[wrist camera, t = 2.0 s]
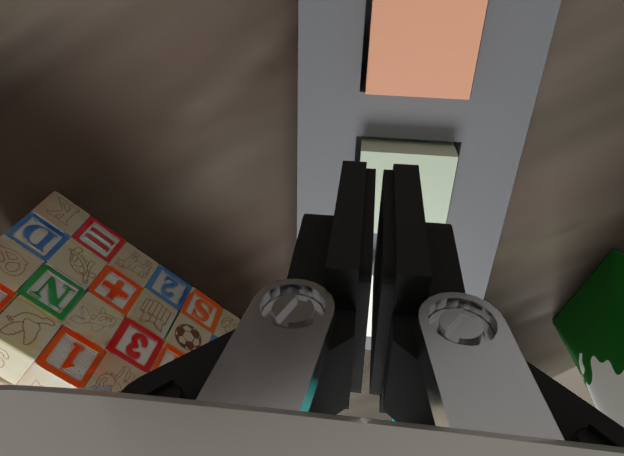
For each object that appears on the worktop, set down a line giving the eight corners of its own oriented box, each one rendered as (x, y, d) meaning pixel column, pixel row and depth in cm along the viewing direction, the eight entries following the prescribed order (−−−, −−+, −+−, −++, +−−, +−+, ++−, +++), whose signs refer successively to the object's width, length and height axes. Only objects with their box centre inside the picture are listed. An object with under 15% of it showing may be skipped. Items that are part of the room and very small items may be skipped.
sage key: (437, 211, 31) (443, 238, 29) (356, 206, 32) (354, 232, 29) (451, 135, 29) (458, 157, 26) (362, 129, 29) (361, 151, 26)
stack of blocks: (284, 346, 42) (254, 488, 32) (240, 381, 45) (200, 522, 35) (53, 187, 36) (-76, 299, 26) (20, 240, 39) (-108, 359, 29)
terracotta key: (460, 81, 27) (469, 99, 24) (366, 77, 27) (365, 94, 25) (479, -23, 24) (490, -15, 22) (374, -26, 25) (374, -19, 22)
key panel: (460, 319, 39) (468, 358, 35) (302, 305, 39) (296, 343, 36) (554, -82, 25) (582, -81, 21) (309, -88, 26) (298, -88, 22)
